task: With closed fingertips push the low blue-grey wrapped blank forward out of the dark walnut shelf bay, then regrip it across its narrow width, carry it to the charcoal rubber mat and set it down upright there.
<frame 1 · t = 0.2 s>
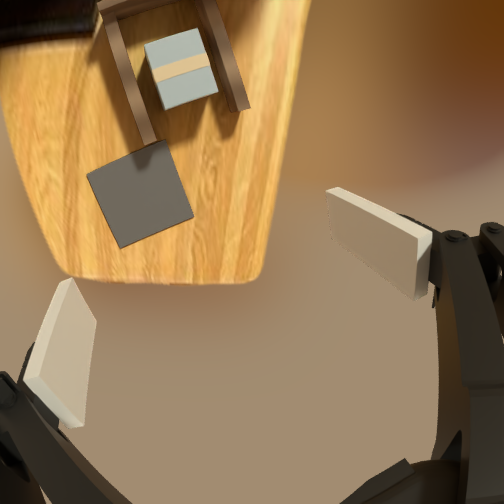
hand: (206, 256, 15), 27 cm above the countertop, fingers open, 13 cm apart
mat: (140, 194, 39), on the countertop
shelf bay: (172, 61, 33), on the countertop
blank: (177, 74, 34), resting in shelf bay
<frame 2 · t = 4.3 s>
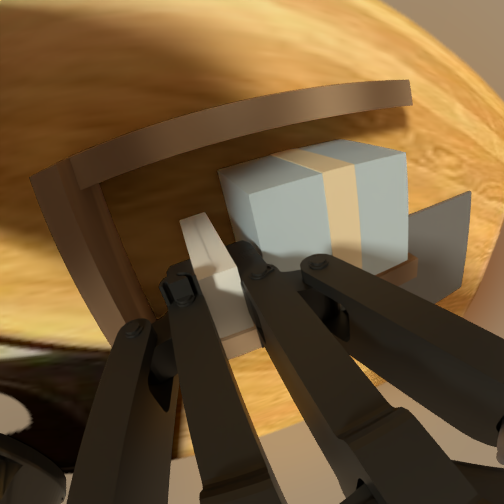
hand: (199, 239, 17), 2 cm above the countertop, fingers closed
mat: (431, 260, 26), on the countertop
shelf bay: (260, 209, 19), on the countertop
blank: (291, 199, 19), resting in shelf bay, touching gripper
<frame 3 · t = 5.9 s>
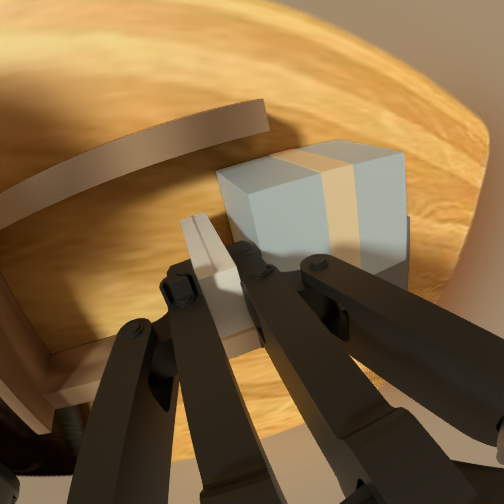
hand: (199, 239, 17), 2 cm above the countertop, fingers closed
mat: (355, 297, 24), on the countertop
shelf bay: (120, 258, 17), on the countertop
blank: (290, 199, 19), on the countertop, touching gripper
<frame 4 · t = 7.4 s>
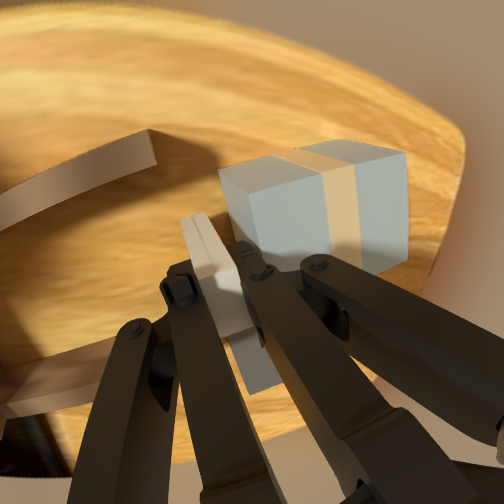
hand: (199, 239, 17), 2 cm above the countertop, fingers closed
mat: (300, 323, 23), on the countertop
shelf bay: (51, 285, 17), on the countertop
blank: (292, 199, 19), on the countertop, touching gripper
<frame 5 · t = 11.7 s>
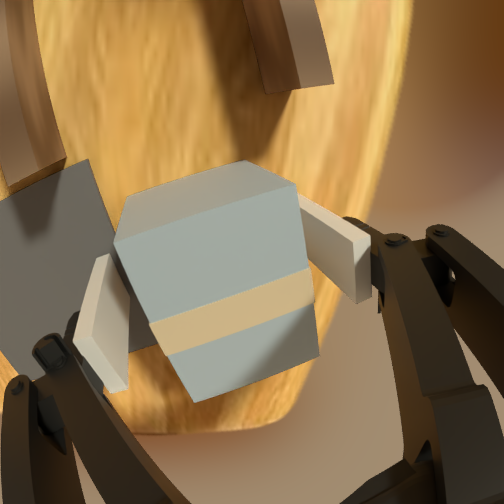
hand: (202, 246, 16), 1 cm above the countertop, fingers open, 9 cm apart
mat: (41, 291, 14), on the countertop
blank: (207, 249, 17), on the countertop
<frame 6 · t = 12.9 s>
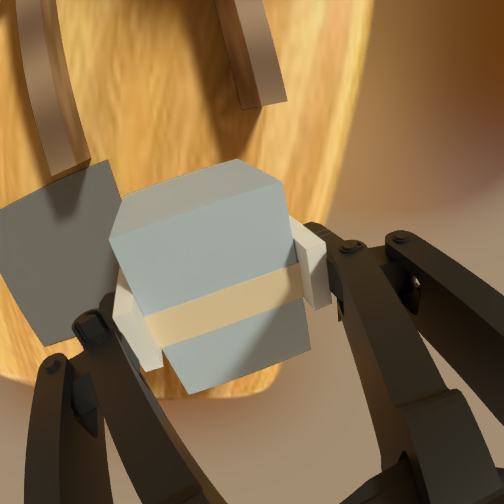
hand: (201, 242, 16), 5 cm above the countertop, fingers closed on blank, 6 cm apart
mat: (65, 264, 19), on the countertop
shelf bay: (134, 6, 14), on the countertop
blank: (202, 245, 17), point 4 cm above the countertop, touching gripper
when the fingers open (2 cm above the countertop, at t = 16.8 s): blank drops 1 cm, resting on mat.
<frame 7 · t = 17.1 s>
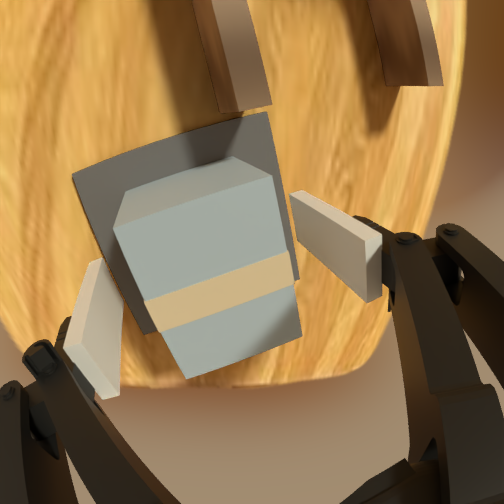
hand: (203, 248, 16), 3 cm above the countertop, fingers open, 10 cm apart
mat: (195, 230, 18), on the countertop
blank: (199, 239, 18), resting on mat
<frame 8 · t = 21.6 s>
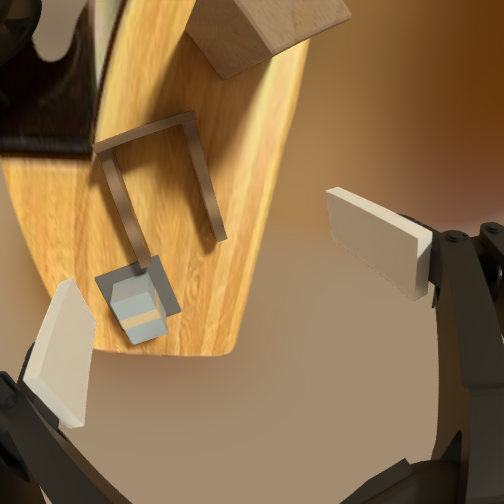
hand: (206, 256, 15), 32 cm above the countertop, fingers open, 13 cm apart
mat: (138, 294, 49), on the countertop
shelf bay: (162, 188, 43), on the countertop
wooden block: (231, 38, 37), on the countertop
blank: (139, 298, 49), resting on mat
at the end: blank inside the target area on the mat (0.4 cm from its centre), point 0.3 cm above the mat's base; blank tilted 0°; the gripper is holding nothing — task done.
